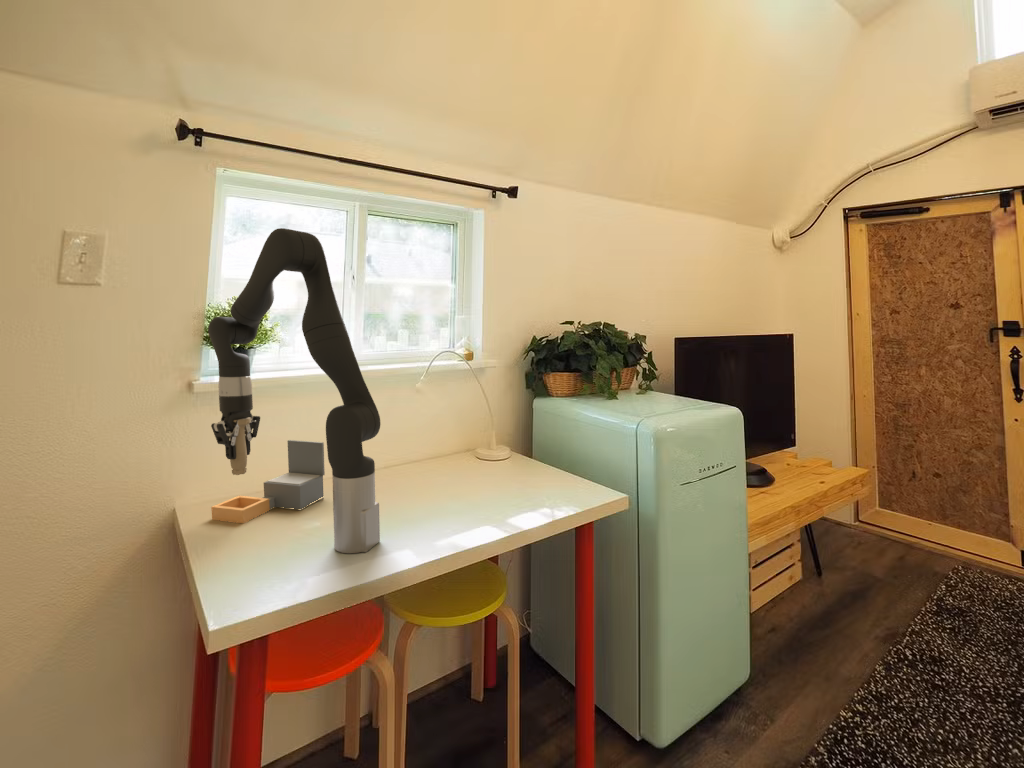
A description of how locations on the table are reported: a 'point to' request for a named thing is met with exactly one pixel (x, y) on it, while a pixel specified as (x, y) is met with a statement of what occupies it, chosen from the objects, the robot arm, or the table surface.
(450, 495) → the table surface
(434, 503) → the table surface
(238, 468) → the handle
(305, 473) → the chair with orange tray
